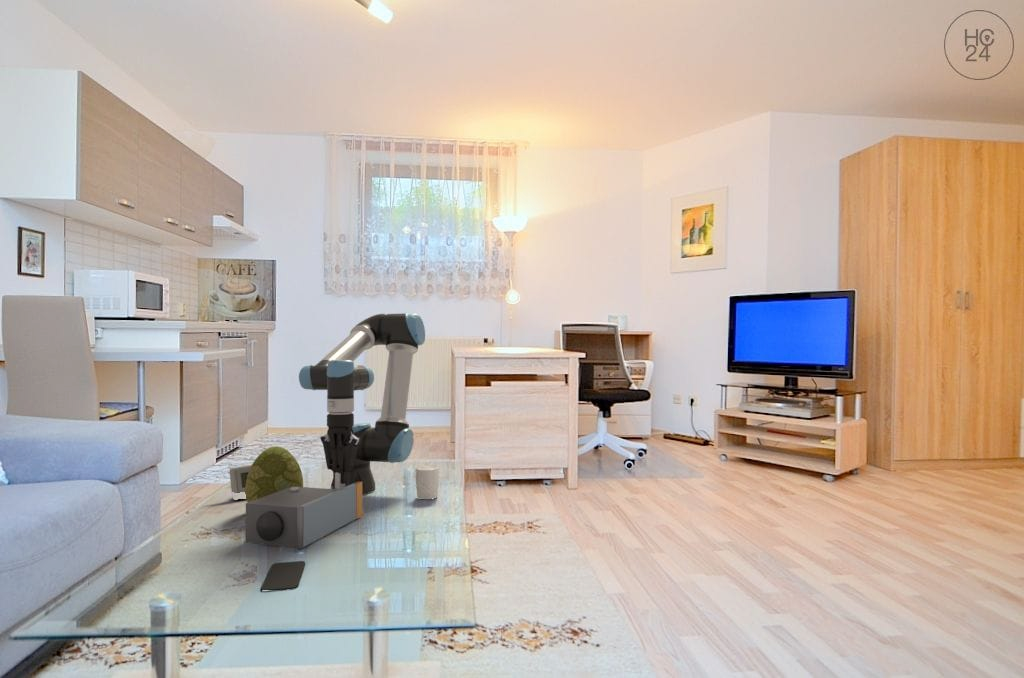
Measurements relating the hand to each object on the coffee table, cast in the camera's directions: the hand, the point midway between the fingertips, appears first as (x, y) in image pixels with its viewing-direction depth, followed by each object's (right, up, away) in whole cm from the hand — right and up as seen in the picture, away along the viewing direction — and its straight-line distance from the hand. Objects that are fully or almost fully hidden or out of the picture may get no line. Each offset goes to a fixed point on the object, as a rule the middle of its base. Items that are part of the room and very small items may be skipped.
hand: (340, 494), depth 167 cm
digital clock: (-37, -8, +28) cm, 47 cm away
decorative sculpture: (-23, -8, +9) cm, 25 cm away
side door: (+1, -7, -11) cm, 13 cm away
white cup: (+21, -8, +26) cm, 34 cm away
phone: (0, -7, -41) cm, 42 cm away
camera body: (-8, -7, -12) cm, 16 cm away
